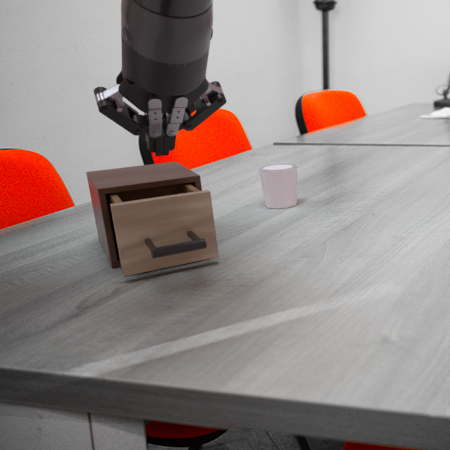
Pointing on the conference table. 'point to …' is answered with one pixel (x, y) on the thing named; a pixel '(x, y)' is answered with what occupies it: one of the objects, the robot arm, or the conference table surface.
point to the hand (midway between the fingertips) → (159, 149)
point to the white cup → (279, 185)
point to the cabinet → (129, 181)
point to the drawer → (162, 227)
